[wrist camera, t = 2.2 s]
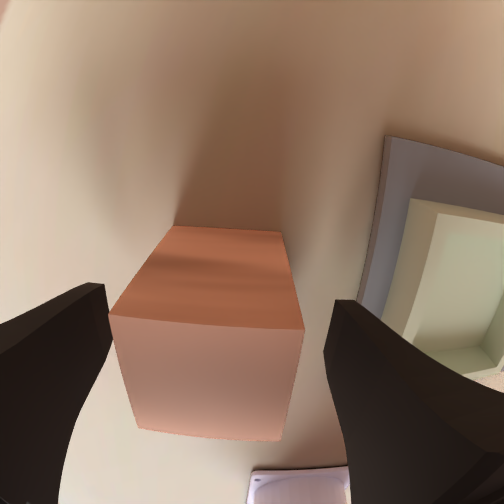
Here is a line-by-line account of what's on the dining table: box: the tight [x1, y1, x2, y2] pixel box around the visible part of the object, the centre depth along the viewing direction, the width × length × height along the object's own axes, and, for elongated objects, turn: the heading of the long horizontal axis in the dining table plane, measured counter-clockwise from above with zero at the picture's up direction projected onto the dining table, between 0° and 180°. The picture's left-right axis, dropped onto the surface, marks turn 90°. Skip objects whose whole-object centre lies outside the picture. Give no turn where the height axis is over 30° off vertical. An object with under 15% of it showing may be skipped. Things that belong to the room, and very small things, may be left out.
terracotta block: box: [108, 226, 305, 441], centre depth 9 cm, size 4×4×6 cm
